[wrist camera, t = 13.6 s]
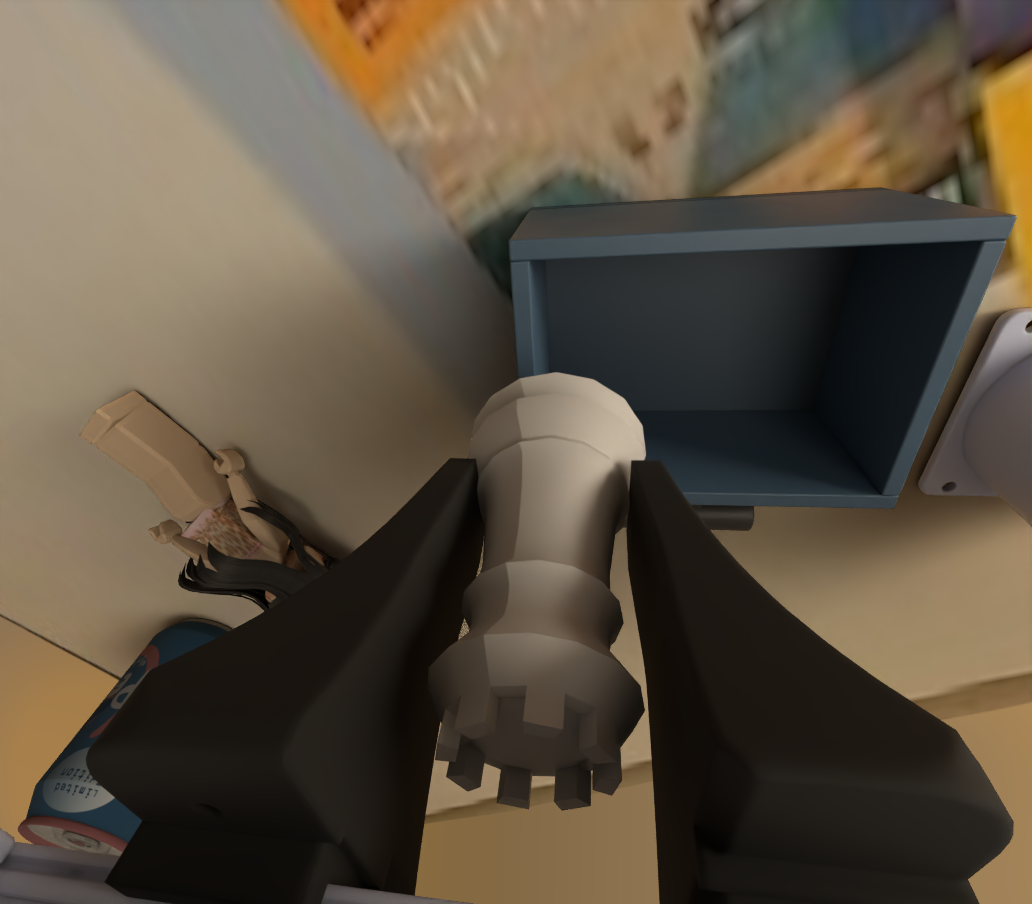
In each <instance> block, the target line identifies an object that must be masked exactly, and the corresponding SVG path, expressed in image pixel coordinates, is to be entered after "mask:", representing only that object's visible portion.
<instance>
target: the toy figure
mask: <svg viewBox="0 0 1032 904" xmlns="http://www.w3.org/2000/svg"><path fill="white" fill-rule="evenodd" d="M80 436H81V437H82V438H84V439H85V440H87V441H88V442H90V443H91V444H95V445H96V447H97V448H98V449H100V450H101V451H102V452H104V453H105V454H107V455H108V456H109V457H111V458H112V459H114V460H115V461H116V462H118V463H119V464H121V465H122V466H123V467H125V468H126V469H128V470H129V471H130V472H132V473H133V474H135V475H136V476H137V477H139V478H140V479H142V480H143V481H144V482H146V484H147V485H148V486H149V487H150V489H151V490H152V491H153V492H154V494H155V495H156V496H157V497H158V499H159V500H160V501H161V503H162V504H163V505H164V506H165V508H166V509H167V510H168V511H169V512H170V513H171V514H172V515H173V516H175V517H176V518H178V519H180V520H183V521H186V523H190V525H189V526H188V527H187V528H186V530H185V531H184V532H183V533H182V528H181V527H180V526H179V525H178V524H177V523H176V522H174V521H173V520H171V519H170V520H167V521H164V522H161V523H160V525H159V526H156V527H153V528H150V529H148V531H149V533H150V535H151V536H152V537H153V538H154V539H155V541H157V542H159V543H161V544H167V543H169V542H172V544H173V545H175V546H176V547H177V548H179V549H180V550H181V551H182V552H184V553H185V554H186V555H188V556H189V557H190V559H189V562H188V564H187V569H186V573H187V575H188V576H189V577H190V578H191V579H192V580H194V581H192V580H190V579H187V578H186V577H185V566H184V568H183V571H182V574H181V571H180V575H179V579H178V582H179V585H180V586H181V587H182V588H184V589H186V590H188V591H192V592H199V593H207V594H217V595H231V596H238V597H243V598H246V599H249V600H252V601H253V602H254V603H256V604H257V605H259V606H260V607H261V608H262V609H263V610H264V611H267V610H269V609H270V608H272V607H274V606H275V605H277V604H279V603H280V602H282V601H284V600H285V599H287V598H288V597H290V596H291V595H293V594H294V593H296V592H297V591H299V590H300V589H302V588H303V587H305V586H306V585H308V584H309V583H311V582H312V581H314V580H316V579H317V578H319V577H320V576H322V575H323V574H324V573H326V572H327V571H329V570H330V569H331V568H333V567H334V566H335V565H337V564H338V563H339V562H341V561H340V560H338V559H336V558H332V557H330V556H331V555H330V556H329V555H327V554H326V555H327V556H329V557H328V559H325V558H324V557H323V556H321V555H320V554H319V553H317V552H316V551H315V550H313V549H312V548H311V547H308V546H303V543H302V541H301V538H302V537H301V535H300V534H299V533H298V530H297V529H296V527H295V526H294V525H293V524H292V523H291V522H290V521H289V520H287V519H286V518H285V517H283V516H282V515H281V514H280V513H278V512H277V511H275V510H274V509H272V508H271V507H269V506H267V505H266V504H264V503H262V502H261V501H259V500H257V499H256V497H255V495H254V494H253V492H252V490H251V488H250V487H249V485H248V483H247V481H246V480H245V478H244V476H243V475H242V474H241V475H240V474H239V472H241V471H242V470H243V469H244V466H245V463H244V460H243V458H242V457H241V455H240V454H238V453H237V452H236V451H235V450H232V449H224V450H217V451H216V454H217V455H218V456H220V457H221V458H222V459H216V460H215V461H214V460H213V459H212V457H211V456H210V455H209V454H208V452H207V451H206V450H205V448H204V447H202V446H199V443H198V441H197V440H196V439H195V438H193V437H192V436H191V435H190V434H188V433H187V432H186V431H185V430H183V429H182V428H181V427H180V426H178V425H177V424H176V423H175V422H173V421H172V420H171V419H170V418H168V417H167V416H166V415H165V414H163V413H162V412H161V411H160V410H158V409H157V408H156V407H155V406H153V405H152V404H151V403H148V402H147V401H146V399H145V398H143V397H142V396H141V395H139V394H138V393H137V392H135V391H133V392H131V393H129V394H127V395H125V396H123V397H121V398H119V399H117V400H115V401H113V402H111V403H109V404H107V405H105V406H103V407H101V408H99V409H98V410H96V411H95V413H94V414H93V416H92V417H91V419H90V420H89V422H88V423H87V424H86V426H85V427H84V429H83V430H82V432H81V433H80ZM226 474H227V475H228V477H229V478H226V476H225V475H226ZM231 494H232V497H233V500H234V502H233V501H231V500H230V498H231ZM258 501H259V502H261V503H262V504H261V503H259V502H258ZM263 504H264V505H263ZM265 505H266V506H267V507H266V506H265ZM268 507H269V508H268ZM262 508H263V509H265V510H266V511H265V510H263V509H262ZM270 508H271V509H272V510H271V509H270ZM273 510H274V511H273ZM267 511H268V512H267ZM276 512H277V513H276ZM279 514H280V515H279ZM300 537H301V538H300ZM198 539H200V540H201V541H202V542H203V543H204V544H202V543H200V542H198V541H196V540H198ZM302 539H303V538H302ZM305 539H306V538H305ZM303 540H304V539H303ZM306 540H307V539H306ZM290 541H291V543H292V545H293V547H294V549H293V548H292V547H291V546H290V545H289V543H290ZM304 541H305V540H304ZM306 542H307V541H306ZM309 542H310V541H309ZM307 543H308V542H307ZM309 544H310V543H309ZM312 544H313V543H312ZM312 544H310V545H311V546H313V545H312ZM288 547H290V548H292V549H293V551H291V552H290V553H289V554H288V555H287V556H286V553H287V551H288ZM313 547H314V548H316V547H315V546H313ZM317 547H318V546H317ZM316 549H318V548H316ZM320 549H321V548H320ZM318 550H319V549H318ZM319 551H321V550H319ZM323 551H324V550H323ZM321 552H322V551H321ZM323 553H324V552H323ZM326 553H327V552H326ZM324 554H325V553H324ZM193 559H194V560H195V561H197V562H198V564H197V566H196V565H194V562H193ZM185 565H186V563H185ZM211 569H212V570H211ZM214 570H215V571H214ZM216 571H217V572H216ZM233 594H237V595H233ZM239 595H240V596H239ZM242 595H246V596H249V597H251V598H254V599H255V600H256V601H257V602H258V603H259V604H258V603H257V602H256V601H255V600H253V599H250V598H247V597H244V596H242Z"/></svg>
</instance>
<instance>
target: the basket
mask: <svg viewBox="0 0 1032 904" xmlns="http://www.w3.org/2000/svg"><path fill="white" fill-rule="evenodd" d="M1016 219H1017V216H1016V215H1012V214H1007V213H1002V212H998V211H993V210H988V209H983V208H978V207H973V206H969V205H964V204H959V203H954V202H949V201H944V200H939V199H935V198H930V197H925V196H920V195H915V194H910V193H905V192H901V191H896V190H891V189H886V188H881V187H880V188H862V189H845V190H828V191H810V192H793V193H776V194H759V195H741V196H724V197H707V198H689V199H672V200H655V201H637V202H620V203H603V204H586V205H568V206H551V207H534V208H531V209H530V211H529V212H528V214H527V215H526V217H525V218H524V220H523V221H522V222H521V224H520V225H519V227H518V228H517V230H516V231H515V233H514V234H513V236H512V237H511V239H510V240H509V258H510V261H511V262H510V273H511V287H512V302H513V316H514V331H515V345H516V359H517V374H518V379H520V378H525V377H531V376H537V375H543V374H549V373H555V372H558V373H563V374H568V375H574V376H579V377H584V378H589V379H594V380H596V381H597V382H599V383H600V384H602V385H604V386H605V387H607V388H608V389H610V390H611V391H613V392H615V393H616V394H618V395H619V396H621V397H623V398H624V399H625V400H626V402H627V403H628V405H629V406H630V408H631V409H632V411H633V412H634V414H635V415H636V417H637V418H638V420H639V421H640V423H641V424H642V426H643V434H644V442H645V450H646V456H645V459H644V460H660V461H661V462H662V463H663V464H664V465H665V466H666V468H667V470H668V471H669V473H670V475H671V476H672V478H673V480H674V481H675V483H676V484H677V486H678V487H679V489H680V490H681V492H682V493H683V495H684V496H685V498H686V499H687V500H688V502H689V503H690V505H691V506H692V507H693V509H694V510H695V511H696V513H697V514H698V515H699V517H700V518H701V519H702V520H703V522H704V523H705V524H706V526H707V527H708V528H709V529H710V530H738V531H748V530H750V529H751V528H752V525H753V522H754V506H779V507H828V508H878V509H893V508H894V507H895V504H896V502H897V500H898V495H899V494H900V492H901V490H902V488H903V485H904V483H905V481H906V478H907V476H908V474H909V471H910V469H911V467H912V464H913V462H914V459H915V457H916V455H917V452H918V450H919V448H920V445H921V443H922V441H923V438H924V436H925V433H926V431H927V429H928V426H929V424H930V422H931V419H932V417H933V415H934V412H935V410H936V407H937V405H938V403H939V400H940V398H941V396H942V393H943V391H944V389H945V386H946V384H947V382H948V379H949V377H950V374H951V372H952V370H953V367H954V365H955V363H956V360H957V358H958V356H959V353H960V351H961V348H962V346H963V344H964V341H965V339H966V337H967V334H968V332H969V330H970V327H971V325H972V322H973V320H974V318H975V315H976V313H977V311H978V308H979V306H980V304H981V301H982V299H983V296H984V294H985V292H986V289H987V287H988V285H989V282H990V280H991V278H992V275H993V273H994V271H995V268H996V266H997V263H998V261H999V259H1000V256H1001V254H1002V252H1003V249H1004V247H1005V245H1006V241H1005V239H1007V238H1008V237H1009V235H1010V233H1011V230H1012V228H1013V226H1014V223H1015V221H1016ZM623 527H625V528H627V518H626V520H625V522H624V525H623Z"/></svg>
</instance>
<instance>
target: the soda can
mask: <svg viewBox="0 0 1032 904" xmlns="http://www.w3.org/2000/svg"><path fill="white" fill-rule="evenodd" d="M231 630H232V629H231V628H229V627H227V626H225V625H222V624H220V623H217V622H214V621H210V620H205V619H187V620H184V621H181V622H179V623H177V624H175V625H173V626H170V627H168V628H166V629H164V630H162V631H161V632H159V633H158V634H156V635H155V636H154V638H153V639H152V640H151V641H150V643H149V644H148V645H147V646H146V648H145V649H144V650H143V651H142V653H141V654H140V655H139V656H138V658H137V659H136V660H135V661H134V663H133V664H132V665H131V666H130V668H129V669H128V670H127V671H126V673H125V674H124V675H123V676H122V678H121V679H120V680H119V681H118V683H117V684H116V685H115V686H114V688H113V689H112V690H111V692H110V693H109V694H108V695H107V697H106V698H105V699H104V700H103V702H102V703H101V704H100V706H99V707H98V708H97V709H96V710H95V712H94V713H93V714H92V716H91V717H90V718H89V719H88V720H87V722H86V723H85V724H84V725H83V727H82V728H81V729H80V731H79V732H78V733H77V734H76V735H75V737H74V738H73V739H72V741H71V742H70V743H69V744H68V745H67V747H66V748H65V749H64V750H63V752H62V753H61V754H60V755H59V757H58V758H57V760H55V762H54V763H53V764H52V765H51V767H50V768H49V769H48V771H47V772H46V773H45V774H44V775H43V777H42V778H41V779H40V780H39V782H38V783H37V784H36V786H35V789H34V792H33V796H32V799H31V803H30V806H29V810H28V814H27V817H26V819H25V820H24V821H23V822H22V823H21V824H20V826H19V827H18V832H19V833H20V834H21V835H22V836H23V837H24V838H25V839H27V840H28V841H30V842H31V843H33V844H35V845H43V846H50V847H58V848H65V849H72V850H80V851H87V852H95V853H102V854H109V855H117V856H121V854H122V853H123V851H124V849H125V848H126V846H127V844H128V843H129V841H130V840H131V838H132V836H133V835H134V833H135V832H136V830H137V828H138V827H139V825H140V823H141V822H142V820H141V819H140V818H139V817H137V816H136V815H135V814H134V813H133V812H131V811H130V810H129V809H128V808H127V807H125V806H124V805H123V804H122V803H121V802H120V801H118V800H117V799H116V798H115V797H114V796H112V795H111V794H110V793H109V792H108V791H106V790H105V789H104V788H103V787H102V786H101V785H100V784H99V783H98V782H97V781H96V780H95V779H94V778H93V777H92V776H91V775H90V772H89V770H88V768H87V765H86V755H87V752H88V749H89V748H90V747H91V746H92V744H93V743H94V742H95V740H96V739H97V738H98V736H99V735H100V734H101V733H102V731H103V730H104V729H105V727H106V726H107V725H108V724H109V722H110V721H111V720H112V718H113V717H114V716H115V714H116V713H117V712H118V711H119V709H120V708H121V707H122V705H123V704H124V703H125V701H126V700H127V699H128V698H129V696H130V695H131V694H132V692H133V691H134V690H135V688H136V687H137V686H138V685H139V683H140V682H141V681H142V679H143V678H144V677H145V676H146V674H147V673H148V672H149V671H150V670H151V669H153V668H155V667H157V666H159V665H162V664H164V663H166V662H168V661H170V660H172V659H174V658H176V657H179V656H181V655H183V654H185V653H187V652H189V651H191V650H193V649H195V648H197V647H199V646H201V645H203V644H206V643H208V642H210V641H212V640H214V639H216V638H218V637H220V636H222V635H223V634H225V633H227V632H229V631H231Z"/></svg>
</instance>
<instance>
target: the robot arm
mask: <svg viewBox="0 0 1032 904" xmlns="http://www.w3.org/2000/svg"><path fill="white" fill-rule="evenodd" d="M1030 321H1032V308H1017V309H1012V310H1009V311H1007V312H1005V313H1004V314H1003V315H1001V316H1000V317H999V318H998V319H997V321H996V322H995V324H994V326H993V328H992V330H991V332H990V334H989V337H988V339H987V341H986V343H985V345H984V347H983V349H982V351H981V353H980V355H979V357H978V359H977V361H976V364H975V366H974V368H973V370H972V372H971V374H970V376H969V378H968V380H967V382H966V384H965V386H964V388H963V391H962V393H961V395H960V397H959V399H958V401H957V403H956V405H955V407H954V409H953V411H952V413H951V415H950V418H949V420H948V422H947V424H946V426H945V428H944V430H943V432H942V434H941V436H940V438H939V440H938V442H937V445H936V447H935V449H934V451H933V453H932V455H931V457H930V459H929V461H928V463H927V465H926V467H925V469H924V472H923V474H922V476H921V478H920V480H919V483H918V486H919V488H920V489H921V491H922V492H923V493H925V494H926V495H946V496H1000V497H1001V498H1003V499H1004V500H1005V501H1006V502H1007V503H1008V504H1009V505H1010V506H1011V507H1012V508H1013V509H1014V510H1015V511H1016V512H1017V513H1018V514H1019V515H1020V516H1021V517H1022V518H1023V519H1024V520H1025V521H1026V522H1027V523H1028V524H1029V525H1031V526H1032V325H1031V326H1030V327H1028V328H1026V325H1027V324H1028V323H1029V322H1030ZM478 479H479V476H478V469H477V462H476V459H465V458H450V459H449V460H448V461H447V462H446V463H445V464H444V465H443V466H442V467H441V468H440V469H439V470H438V471H437V472H436V473H435V474H434V475H433V476H432V477H431V479H430V480H429V481H428V482H427V483H426V484H425V485H424V486H423V487H422V488H421V489H420V490H419V491H418V492H417V493H416V494H415V495H414V496H413V497H412V498H411V499H410V500H409V501H408V502H407V503H406V504H405V505H404V506H403V507H402V508H401V509H400V510H399V511H398V512H397V513H396V514H395V515H394V516H393V517H392V518H391V519H390V520H389V521H388V522H387V523H386V524H385V525H384V526H382V527H381V528H380V529H379V530H378V531H377V532H376V533H375V534H374V535H372V536H371V537H370V538H369V539H368V540H367V541H366V542H365V543H363V544H362V545H361V546H360V547H359V548H357V549H356V550H355V551H354V552H352V553H351V554H350V555H349V556H347V557H346V558H345V559H343V560H342V561H341V562H339V563H338V564H337V565H335V566H334V567H333V568H331V569H330V570H329V571H327V572H326V573H324V574H323V575H322V576H320V577H319V578H317V579H316V580H314V581H312V582H311V583H309V584H308V585H306V586H305V587H303V588H302V589H300V590H299V591H297V592H296V593H294V594H293V595H291V596H290V597H288V598H287V599H285V600H284V601H282V602H280V603H279V604H277V605H275V606H274V607H272V608H270V609H269V610H267V611H265V612H263V613H262V614H260V615H258V616H257V617H255V618H253V619H251V620H249V621H248V622H246V623H244V624H242V625H240V626H238V627H237V628H235V629H233V630H231V631H229V632H227V633H225V634H223V635H222V636H220V637H218V638H216V639H214V640H212V641H210V642H208V643H206V644H203V645H201V646H199V647H197V648H195V649H193V650H191V651H189V652H187V653H185V654H183V655H181V656H179V657H176V658H174V659H172V660H170V661H168V662H166V663H164V664H162V665H159V666H157V667H155V668H153V669H151V670H150V671H149V672H148V673H147V674H146V676H145V677H144V678H143V679H142V681H141V682H140V683H139V685H138V686H137V687H136V688H135V690H134V691H133V692H132V694H131V695H130V696H129V698H128V699H127V700H126V701H125V703H124V704H123V705H122V707H121V708H120V709H119V711H118V712H117V713H116V714H115V716H114V717H113V718H112V720H111V721H110V722H109V724H108V725H107V726H106V727H105V729H104V730H103V731H102V733H101V734H100V735H99V736H98V738H97V739H96V740H95V742H94V743H93V744H92V746H91V747H90V748H89V749H88V752H87V755H86V765H87V768H88V770H89V772H90V775H91V776H92V777H93V778H94V779H95V780H96V781H97V782H98V783H99V784H100V785H101V786H102V787H103V788H104V789H105V790H106V791H108V792H109V793H110V794H111V795H112V796H114V797H115V798H116V799H117V800H118V801H120V802H121V803H122V804H123V805H124V806H125V807H127V808H128V809H129V810H130V811H131V812H133V813H134V814H135V815H136V816H137V817H139V818H140V819H141V820H142V822H141V823H140V825H139V827H138V828H137V830H136V832H135V833H134V835H133V836H132V838H131V840H130V841H129V843H128V844H127V846H126V848H125V849H124V851H123V853H122V854H121V856H117V855H109V854H102V853H95V852H87V851H80V850H72V849H65V848H58V847H50V846H43V845H35V844H28V843H20V842H15V840H14V837H12V836H11V835H10V834H8V833H7V832H6V831H4V830H2V829H1V828H0V904H473V903H465V902H458V901H450V900H443V899H436V898H428V897H421V896H415V888H416V880H417V872H418V865H419V857H420V850H421V843H422V836H423V828H424V821H425V814H426V807H427V801H428V794H429V788H430V781H431V775H432V768H433V762H434V756H435V750H436V744H437V738H438V732H439V726H440V719H439V716H438V714H437V712H436V710H435V708H434V705H433V703H432V701H431V699H430V696H429V694H428V692H427V682H428V671H429V667H430V666H431V665H432V664H433V663H434V662H435V661H436V659H437V658H438V657H439V656H440V655H441V654H442V653H443V652H444V651H445V650H446V649H447V648H448V647H449V646H451V645H452V644H454V643H455V642H456V641H458V637H459V634H460V630H461V627H462V623H463V620H464V616H463V613H462V611H461V610H462V603H463V596H464V591H465V590H466V588H467V587H468V586H469V585H470V584H471V583H472V582H473V581H474V579H475V578H476V575H477V572H478V568H479V564H480V559H481V553H482V547H483V540H484V533H485V522H484V521H483V518H482V515H481V512H480V507H479V502H478V493H477V486H478ZM948 482H950V483H949V484H947V485H945V486H944V484H946V483H948ZM629 499H630V506H629V512H628V515H627V529H626V530H627V551H628V570H629V576H630V582H631V588H632V595H633V601H634V607H635V613H636V618H637V624H638V630H639V636H640V642H641V648H642V654H643V660H644V667H645V675H646V683H647V697H648V711H649V725H650V739H651V755H652V770H653V785H654V786H653V787H654V804H655V821H656V839H657V859H658V880H659V900H660V904H979V902H978V900H977V898H976V896H975V893H974V891H973V889H972V887H971V885H970V883H969V881H968V879H969V878H970V877H971V876H973V875H974V874H975V873H976V872H978V871H979V870H980V869H981V868H983V867H984V866H985V865H986V864H988V863H989V862H990V861H991V860H993V859H994V858H995V857H996V856H998V855H999V854H1000V853H1001V852H1002V850H1004V848H1005V847H1006V846H1007V845H1008V844H1009V842H1010V840H1011V838H1012V836H1013V823H1014V822H1013V820H1012V818H1011V816H1010V815H1009V813H1008V811H1007V810H1006V808H1005V806H1004V805H1003V803H1002V801H1001V799H1000V798H999V796H998V794H997V792H996V791H995V789H994V787H993V785H992V784H991V782H990V780H989V779H988V777H987V775H986V774H985V772H984V770H983V769H982V767H981V765H980V764H979V762H978V761H977V760H976V758H975V757H974V755H973V754H972V753H971V751H970V750H969V748H968V747H967V746H966V744H965V743H964V741H963V740H962V738H961V737H960V735H959V734H958V732H957V731H956V730H955V729H953V728H952V727H950V726H949V725H947V724H946V723H944V722H943V721H941V720H940V719H938V718H936V717H935V716H933V715H932V714H930V713H929V712H927V711H926V710H924V709H922V708H921V707H919V706H918V705H916V704H915V703H913V702H912V701H910V700H908V699H907V698H905V697H904V696H902V695H901V694H899V693H898V692H896V691H895V690H893V689H891V688H890V687H888V686H887V685H885V684H884V683H882V682H881V681H879V680H878V679H876V678H875V677H874V676H872V675H871V674H869V673H868V672H867V671H865V670H864V669H862V668H861V667H860V666H858V665H857V664H856V663H854V662H853V661H851V660H850V659H849V658H847V657H846V656H844V655H843V654H842V653H840V652H839V651H838V650H836V649H835V648H834V647H832V646H831V645H830V644H829V643H827V642H826V641H825V640H823V639H822V638H821V637H820V636H818V635H817V634H816V633H815V632H814V631H812V630H811V629H810V628H809V627H807V626H806V625H805V624H804V623H803V622H801V621H800V620H799V619H798V618H796V617H795V616H794V615H793V614H792V613H790V612H789V611H788V610H787V609H786V608H785V607H783V606H782V605H781V604H780V603H779V602H778V601H777V600H776V599H775V598H773V597H772V596H771V595H770V594H769V593H768V592H767V591H766V590H765V589H764V588H763V587H762V586H761V585H760V584H759V583H758V582H757V581H756V580H755V579H754V578H753V577H752V576H751V575H750V574H749V573H748V572H747V571H746V570H745V569H744V568H743V567H742V566H741V565H740V564H739V563H738V562H737V561H736V560H735V559H734V557H733V556H732V555H731V554H730V553H729V552H728V551H727V549H726V548H725V547H724V546H723V545H722V544H721V543H720V542H719V540H718V539H717V538H716V537H715V535H714V534H713V533H712V532H711V531H710V529H709V528H708V527H707V526H706V524H705V523H704V522H703V520H702V519H701V518H700V517H699V515H698V514H697V513H696V511H695V510H694V509H693V507H692V506H691V505H690V503H689V502H688V500H687V499H686V498H685V496H684V495H683V493H682V492H681V490H680V489H679V487H678V486H677V484H676V483H675V481H674V480H673V478H672V476H671V475H670V473H669V471H668V470H667V468H666V466H665V465H664V464H663V463H662V462H661V461H660V460H631V472H630V486H629Z"/></svg>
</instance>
